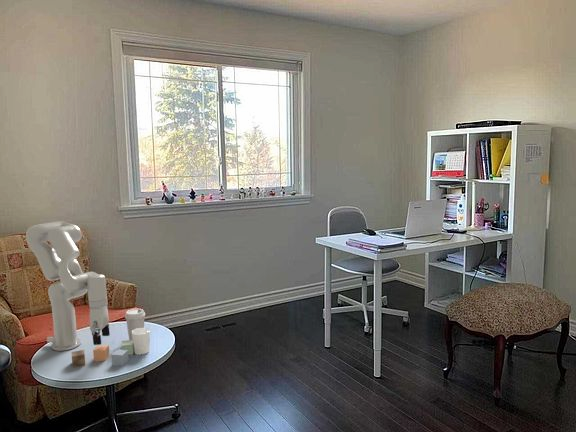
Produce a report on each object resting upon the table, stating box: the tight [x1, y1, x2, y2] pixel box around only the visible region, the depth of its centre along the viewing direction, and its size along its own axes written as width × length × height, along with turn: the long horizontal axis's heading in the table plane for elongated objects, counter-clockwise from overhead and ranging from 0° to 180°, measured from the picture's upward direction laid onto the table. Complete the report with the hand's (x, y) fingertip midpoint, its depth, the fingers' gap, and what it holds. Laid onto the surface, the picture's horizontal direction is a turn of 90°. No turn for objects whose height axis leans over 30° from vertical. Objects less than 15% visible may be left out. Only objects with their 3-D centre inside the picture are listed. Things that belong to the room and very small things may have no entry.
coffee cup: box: [124, 308, 146, 340], centre depth 219 cm, size 10×10×15 cm
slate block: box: [110, 349, 129, 367], centre depth 197 cm, size 5×5×5 cm
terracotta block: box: [92, 344, 110, 362], centre depth 201 cm, size 5×5×5 cm
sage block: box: [120, 340, 135, 356], centre depth 207 cm, size 5×5×5 cm
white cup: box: [132, 327, 151, 356], centre depth 207 cm, size 8×8×10 cm
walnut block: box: [71, 349, 86, 368], centre depth 196 cm, size 5×5×5 cm
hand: (101, 340), depth 200 cm, fingers open, 9 cm apart
